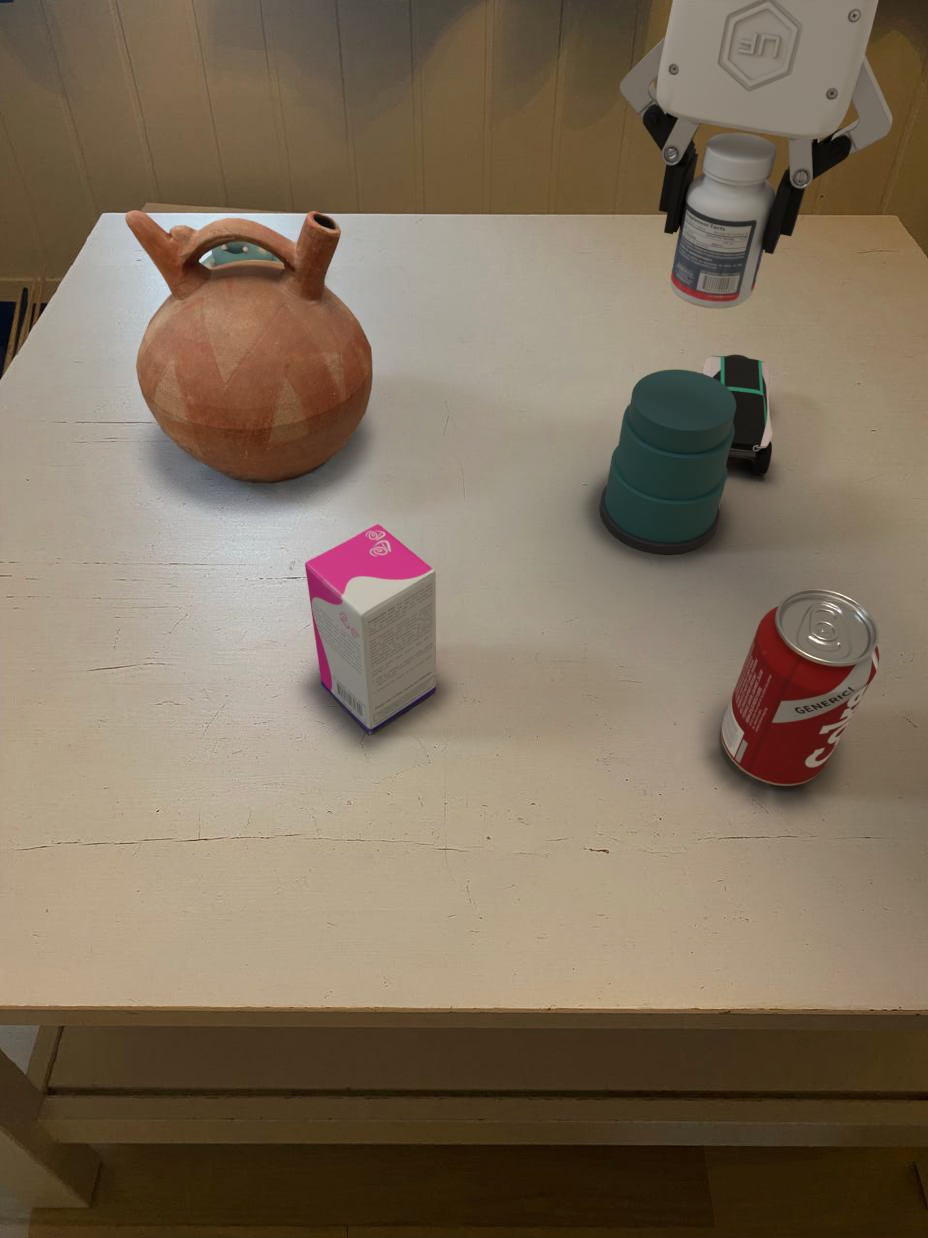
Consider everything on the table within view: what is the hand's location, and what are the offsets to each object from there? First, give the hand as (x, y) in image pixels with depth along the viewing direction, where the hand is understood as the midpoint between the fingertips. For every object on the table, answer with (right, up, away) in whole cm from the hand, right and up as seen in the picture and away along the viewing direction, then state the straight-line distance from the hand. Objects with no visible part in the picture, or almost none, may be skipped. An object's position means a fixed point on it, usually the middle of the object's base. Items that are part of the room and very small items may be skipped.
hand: (723, 230), depth 58 cm
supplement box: (-22, -28, +6) cm, 36 cm away
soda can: (+4, -32, +3) cm, 33 cm away
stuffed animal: (-39, +9, +39) cm, 56 cm away
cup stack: (0, -15, +18) cm, 24 cm away
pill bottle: (0, -3, +3) cm, 4 cm away
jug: (-32, -9, +23) cm, 41 cm away
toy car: (+7, -8, +25) cm, 27 cm away
